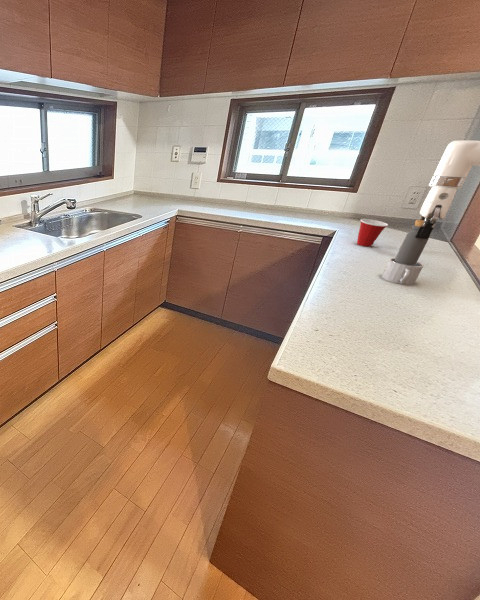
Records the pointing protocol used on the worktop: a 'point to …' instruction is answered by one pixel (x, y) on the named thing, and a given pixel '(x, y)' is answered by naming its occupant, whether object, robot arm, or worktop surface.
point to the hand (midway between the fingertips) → (419, 235)
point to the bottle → (411, 246)
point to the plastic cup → (369, 231)
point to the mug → (401, 272)
